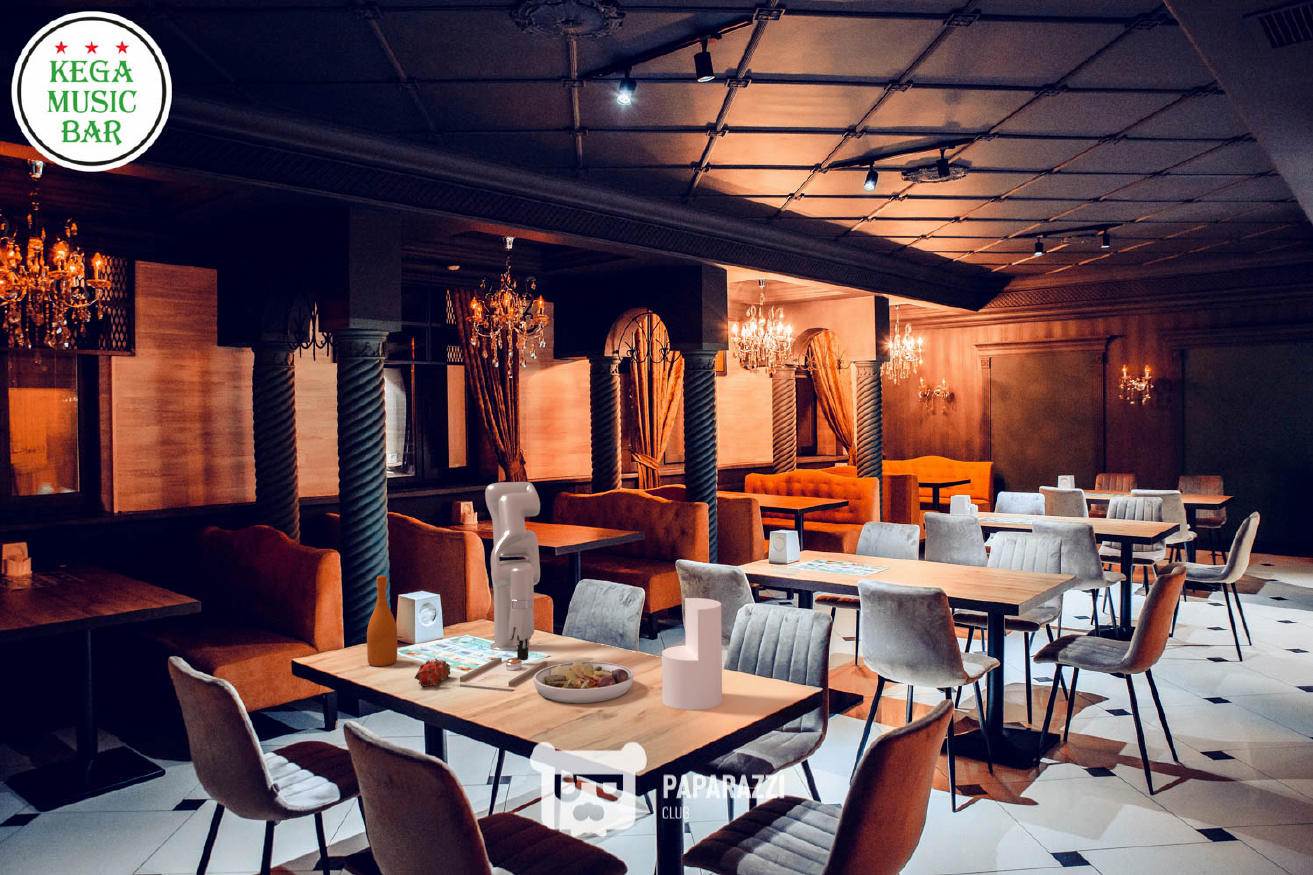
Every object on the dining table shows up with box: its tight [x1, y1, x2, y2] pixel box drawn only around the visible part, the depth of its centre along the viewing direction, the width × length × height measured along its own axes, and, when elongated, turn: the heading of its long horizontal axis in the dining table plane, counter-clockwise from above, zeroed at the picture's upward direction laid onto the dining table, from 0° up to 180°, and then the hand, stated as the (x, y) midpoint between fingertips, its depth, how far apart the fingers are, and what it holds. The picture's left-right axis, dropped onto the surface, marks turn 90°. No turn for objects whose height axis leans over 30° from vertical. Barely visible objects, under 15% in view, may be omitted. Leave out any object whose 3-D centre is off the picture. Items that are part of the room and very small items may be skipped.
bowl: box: [533, 660, 635, 704], centre depth 258 cm, size 30×30×8 cm
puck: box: [505, 657, 523, 671], centre depth 277 cm, size 5×5×3 cm
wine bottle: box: [366, 574, 398, 667], centre depth 290 cm, size 10×10×30 cm
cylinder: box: [661, 597, 723, 711], centre depth 247 cm, size 17×17×28 cm
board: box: [459, 657, 548, 693], centre depth 271 cm, size 24×18×3 cm
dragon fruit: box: [414, 658, 451, 688], centre depth 265 cm, size 8×8×12 cm
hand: (522, 659), depth 282 cm, fingers closed
